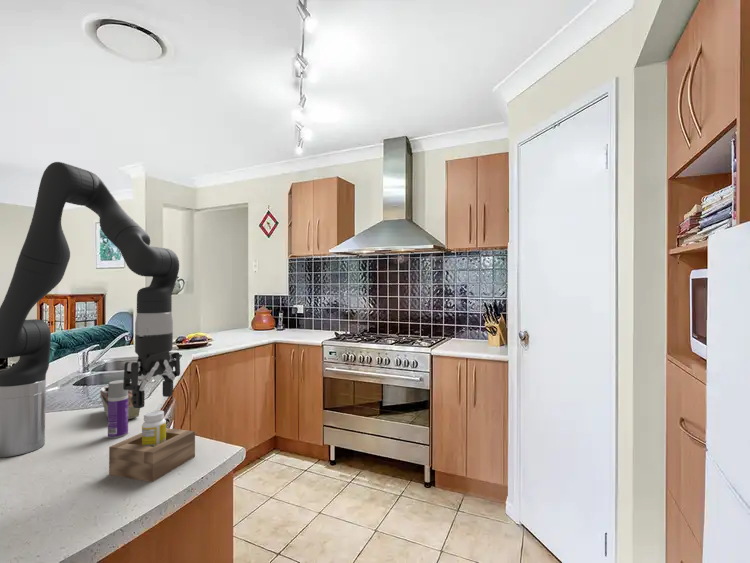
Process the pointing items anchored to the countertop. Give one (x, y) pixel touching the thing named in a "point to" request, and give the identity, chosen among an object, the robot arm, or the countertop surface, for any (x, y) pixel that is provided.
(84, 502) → the countertop surface
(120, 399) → the container
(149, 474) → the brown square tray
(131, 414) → the decorative box
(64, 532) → the countertop surface
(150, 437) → the supplement bottle
